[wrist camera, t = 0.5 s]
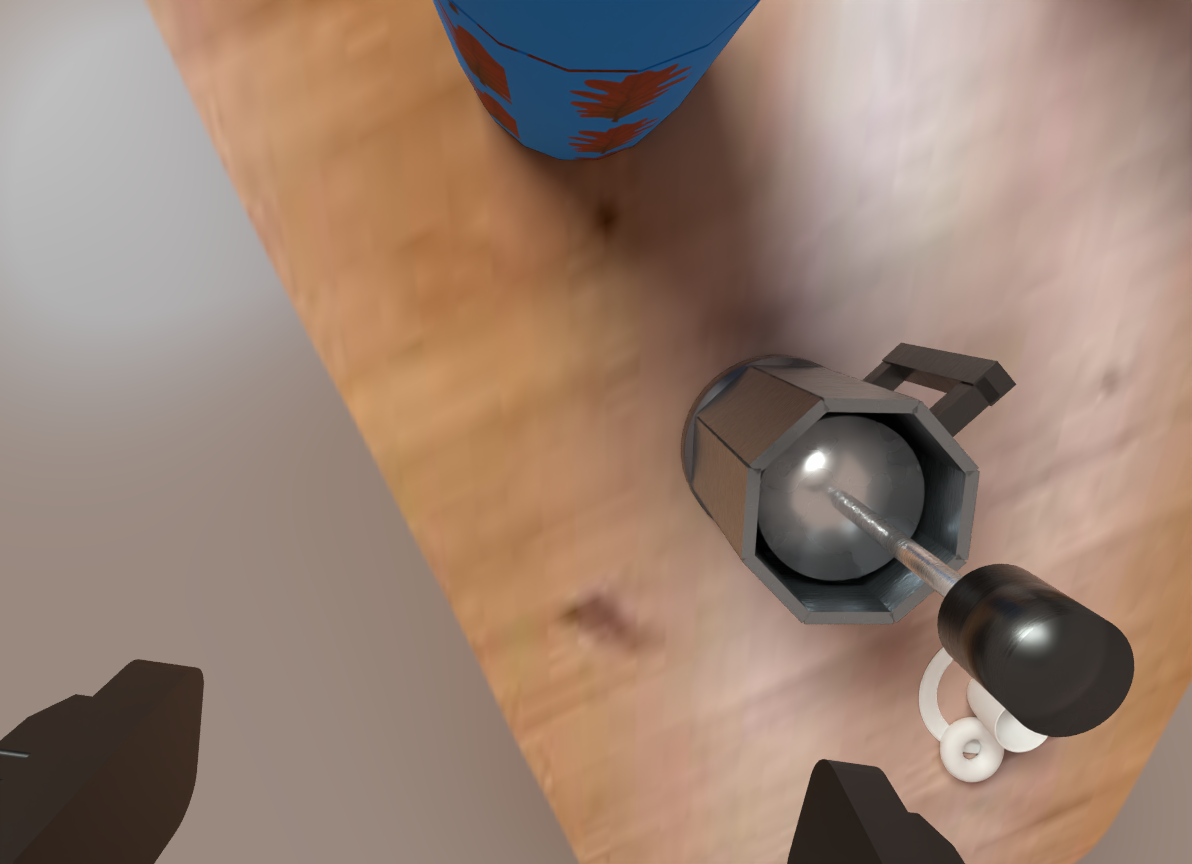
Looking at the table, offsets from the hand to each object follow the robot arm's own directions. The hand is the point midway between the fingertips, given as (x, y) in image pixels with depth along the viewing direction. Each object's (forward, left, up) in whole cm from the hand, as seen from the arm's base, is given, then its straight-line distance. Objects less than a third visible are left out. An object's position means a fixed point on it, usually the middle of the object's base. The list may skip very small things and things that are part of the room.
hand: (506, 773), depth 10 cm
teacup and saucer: (-4, +28, -30) cm, 42 cm away
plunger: (-7, +10, -21) cm, 24 cm away
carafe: (-9, +10, -30) cm, 33 cm away
